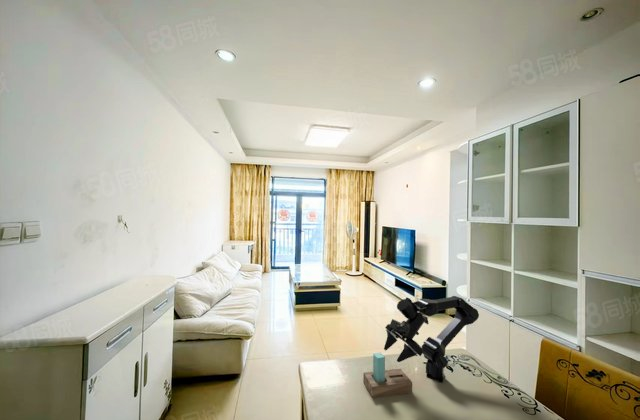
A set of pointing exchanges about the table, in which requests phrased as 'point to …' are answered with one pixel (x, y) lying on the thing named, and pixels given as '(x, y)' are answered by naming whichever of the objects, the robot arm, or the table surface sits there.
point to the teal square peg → (378, 367)
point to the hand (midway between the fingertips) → (390, 355)
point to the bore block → (388, 383)
